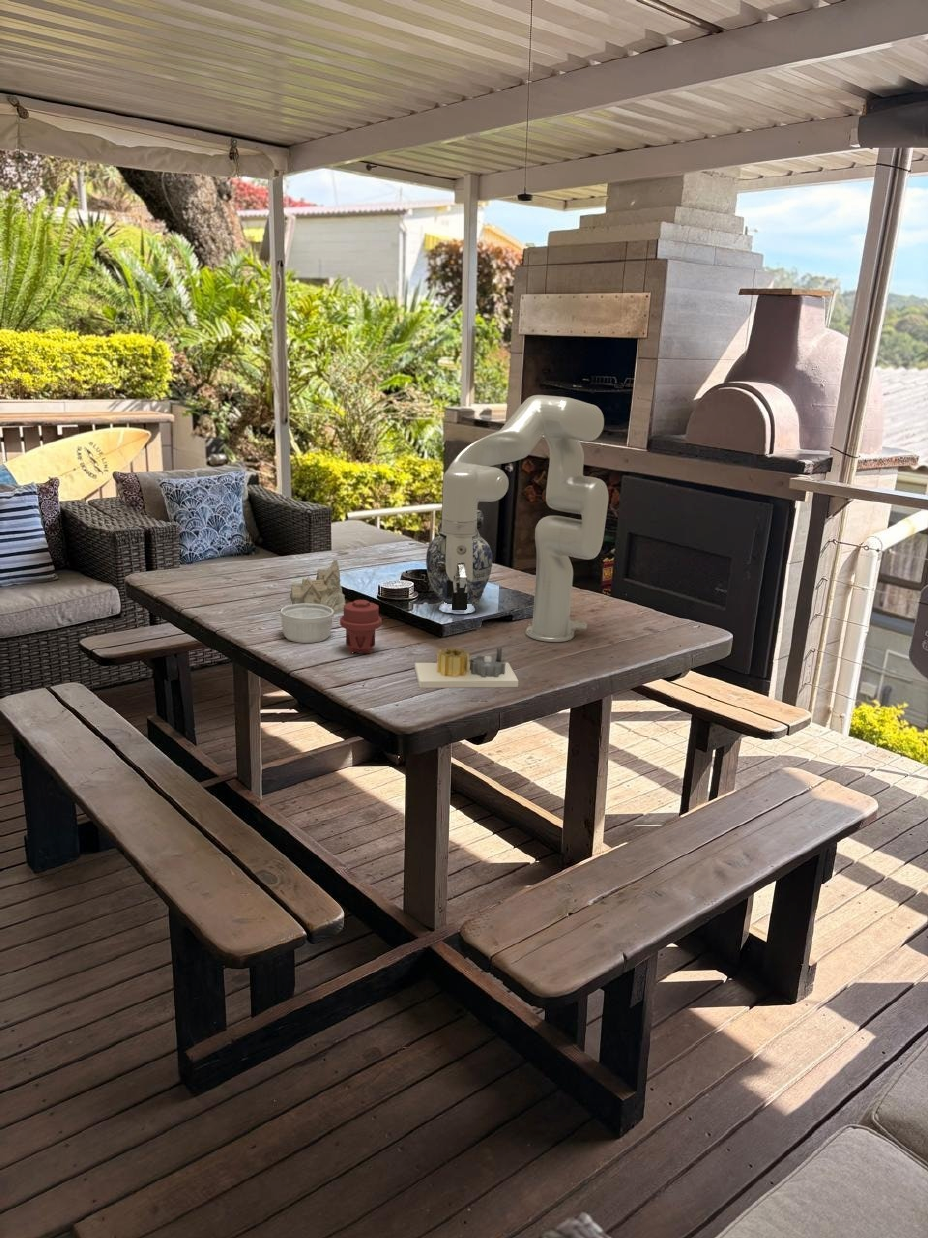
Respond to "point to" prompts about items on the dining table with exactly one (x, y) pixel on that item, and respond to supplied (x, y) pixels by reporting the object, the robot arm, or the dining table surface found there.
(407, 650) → the dining table surface
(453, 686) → the gear board
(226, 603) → the dining table surface
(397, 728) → the dining table surface
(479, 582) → the decorative vase
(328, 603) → the ceramic cottage
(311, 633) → the ramekin
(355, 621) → the mechanical component
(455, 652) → the brass gear
